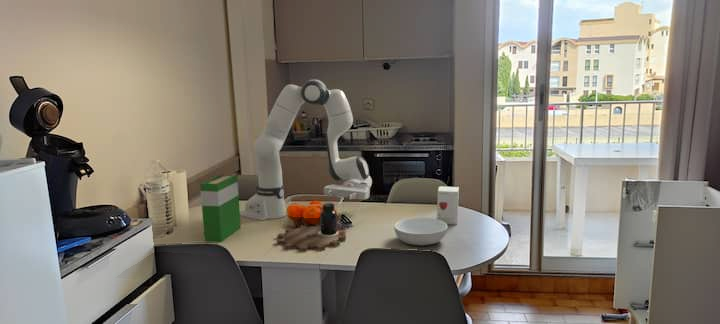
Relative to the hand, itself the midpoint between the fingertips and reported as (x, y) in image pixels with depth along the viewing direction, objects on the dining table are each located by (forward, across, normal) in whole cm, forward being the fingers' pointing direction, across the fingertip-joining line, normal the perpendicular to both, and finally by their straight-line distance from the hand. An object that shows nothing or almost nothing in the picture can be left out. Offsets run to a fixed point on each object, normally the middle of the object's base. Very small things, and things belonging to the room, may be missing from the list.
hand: (338, 196), depth 210 cm
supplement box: (-25, +42, +13) cm, 51 cm away
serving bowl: (+4, +38, +14) cm, 40 cm away
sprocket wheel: (+17, -4, +14) cm, 22 cm away
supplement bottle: (+12, +1, +13) cm, 17 cm away
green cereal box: (+25, -42, +16) cm, 51 cm away
